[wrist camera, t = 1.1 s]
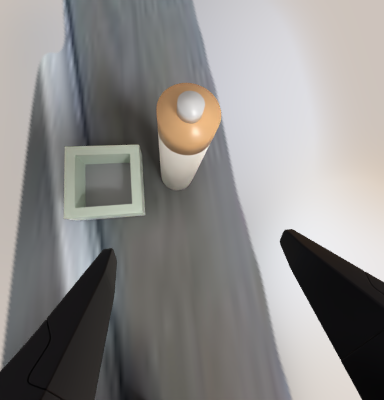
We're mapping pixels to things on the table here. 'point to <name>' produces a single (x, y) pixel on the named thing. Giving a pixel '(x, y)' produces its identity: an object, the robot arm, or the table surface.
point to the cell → (185, 131)
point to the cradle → (103, 182)
